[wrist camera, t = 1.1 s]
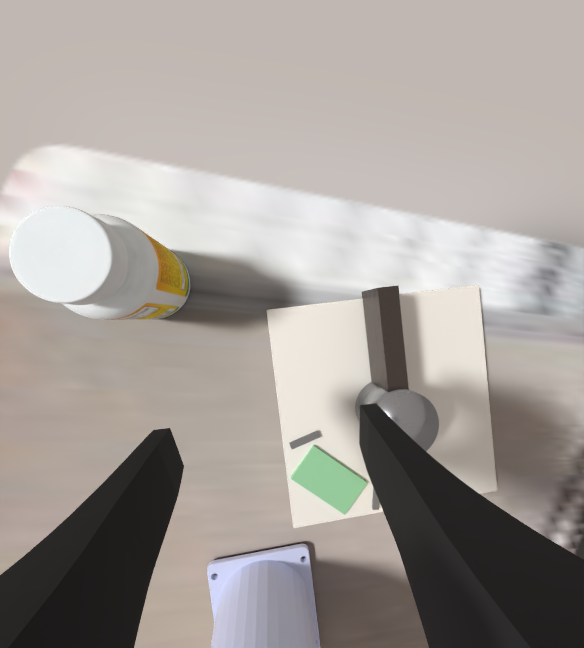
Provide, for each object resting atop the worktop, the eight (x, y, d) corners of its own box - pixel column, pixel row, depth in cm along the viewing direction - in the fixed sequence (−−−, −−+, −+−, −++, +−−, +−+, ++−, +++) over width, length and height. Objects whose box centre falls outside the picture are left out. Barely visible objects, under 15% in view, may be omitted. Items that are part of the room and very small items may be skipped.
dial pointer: (420, 504, 22) (450, 541, 18) (366, 513, 21) (386, 554, 18) (398, 287, 21) (425, 282, 17) (342, 294, 21) (358, 289, 17)
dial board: (487, 483, 24) (500, 493, 22) (292, 518, 22) (293, 531, 21) (469, 286, 23) (481, 284, 22) (266, 310, 21) (266, 309, 20)
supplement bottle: (167, 332, 21) (81, 346, 11) (104, 292, 20) (-41, 273, 11) (206, 273, 21) (154, 238, 11) (145, 233, 20) (37, 161, 11)
